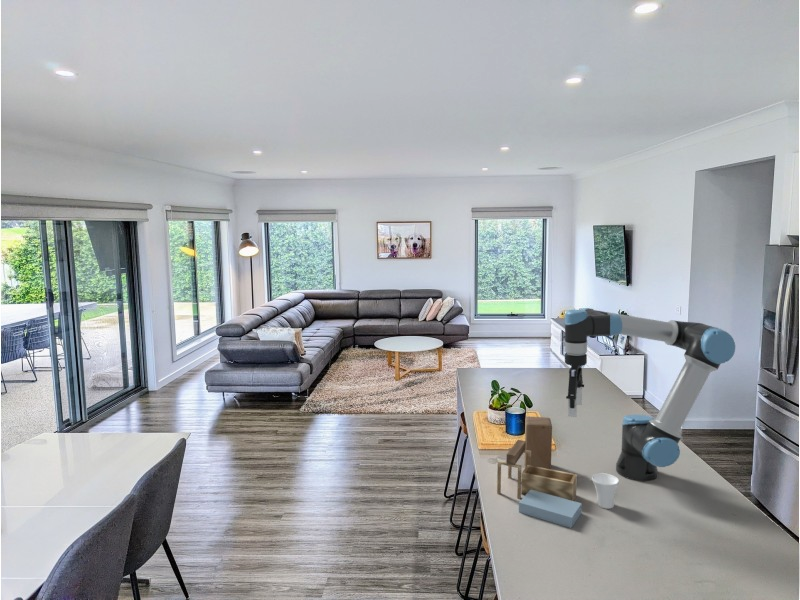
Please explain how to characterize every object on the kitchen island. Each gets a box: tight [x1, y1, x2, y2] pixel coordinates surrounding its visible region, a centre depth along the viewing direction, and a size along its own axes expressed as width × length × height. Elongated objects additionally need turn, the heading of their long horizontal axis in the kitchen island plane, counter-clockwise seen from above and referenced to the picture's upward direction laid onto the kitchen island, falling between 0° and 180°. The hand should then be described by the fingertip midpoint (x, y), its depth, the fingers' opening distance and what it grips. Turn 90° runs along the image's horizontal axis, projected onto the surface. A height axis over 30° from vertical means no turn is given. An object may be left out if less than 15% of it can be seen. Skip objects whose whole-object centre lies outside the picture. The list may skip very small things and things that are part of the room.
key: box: [506, 439, 526, 465], centre depth 201 cm, size 3×15×4 cm, turn 152°
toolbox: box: [496, 446, 578, 501], centre depth 198 cm, size 26×15×12 cm, turn 62°
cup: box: [591, 472, 620, 510], centre depth 189 cm, size 9×9×10 cm
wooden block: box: [524, 416, 553, 470], centre depth 218 cm, size 10×10×20 cm
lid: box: [518, 490, 583, 529], centre depth 185 cm, size 18×11×4 cm, turn 56°
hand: (575, 410), depth 196 cm, fingers open, 13 cm apart
